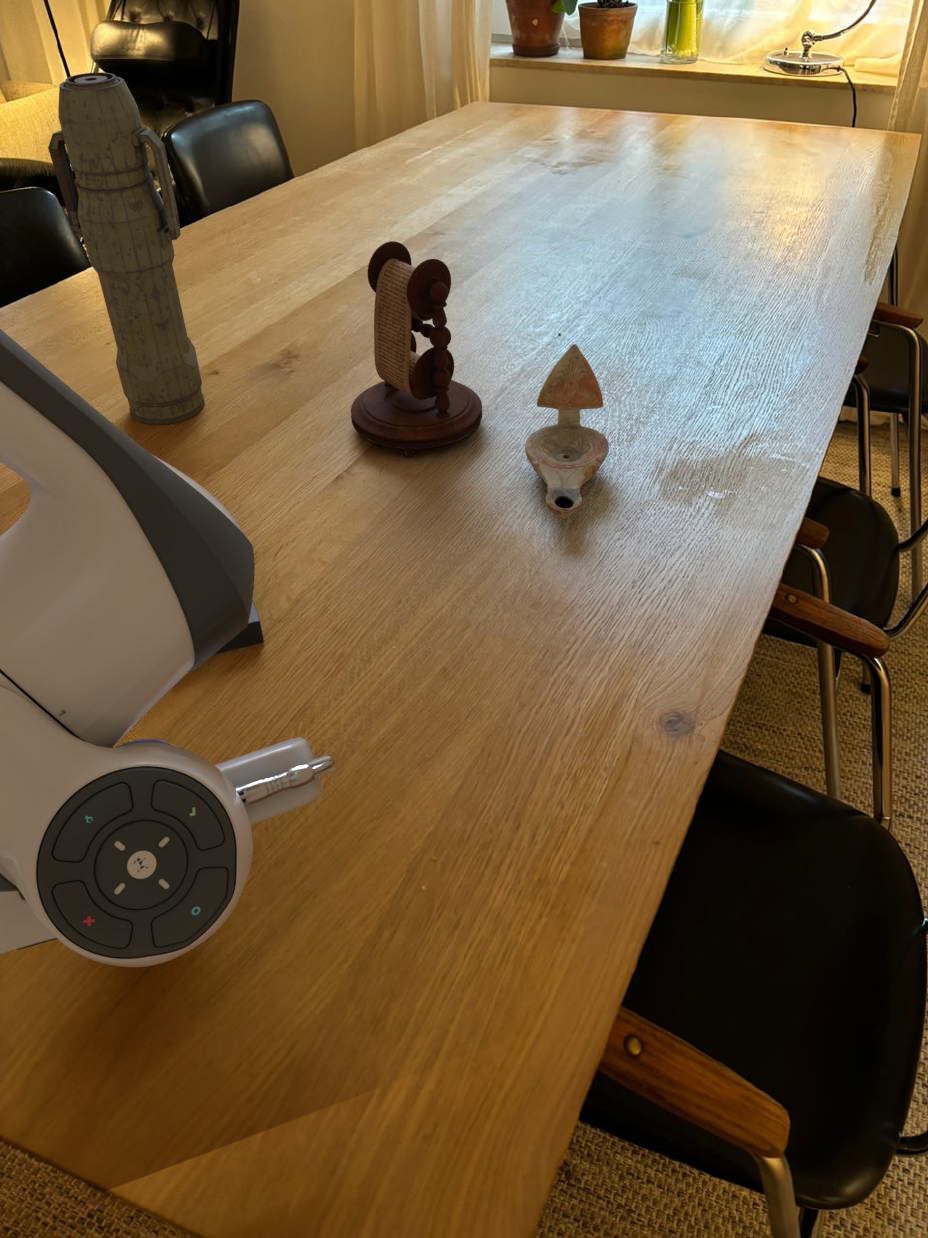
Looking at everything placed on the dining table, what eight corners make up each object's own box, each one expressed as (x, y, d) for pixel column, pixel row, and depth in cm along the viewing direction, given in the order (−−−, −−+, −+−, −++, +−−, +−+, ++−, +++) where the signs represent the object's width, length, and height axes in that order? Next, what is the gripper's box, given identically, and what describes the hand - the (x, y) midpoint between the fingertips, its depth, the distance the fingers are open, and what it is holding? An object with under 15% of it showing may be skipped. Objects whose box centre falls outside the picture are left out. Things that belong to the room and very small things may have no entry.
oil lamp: (607, 428, 112) (614, 344, 105) (605, 538, 96) (613, 448, 89) (530, 424, 113) (533, 341, 106) (515, 533, 97) (517, 444, 90)
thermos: (130, 388, 121) (46, 67, 99) (225, 389, 121) (163, 66, 98) (106, 424, 115) (11, 89, 92) (206, 425, 114) (136, 88, 91)
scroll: (327, 424, 114) (306, 249, 101) (427, 384, 121) (420, 215, 108) (405, 476, 105) (393, 291, 92) (509, 429, 112) (511, 252, 99)
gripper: (321, 706, 54) (290, 715, 67) (-85, 844, 47) (-32, 824, 60) (358, 817, 53) (319, 805, 67) (-45, 971, 47) (0, 924, 60)
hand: (150, 815), depth 63 cm, fingers open, 8 cm apart
